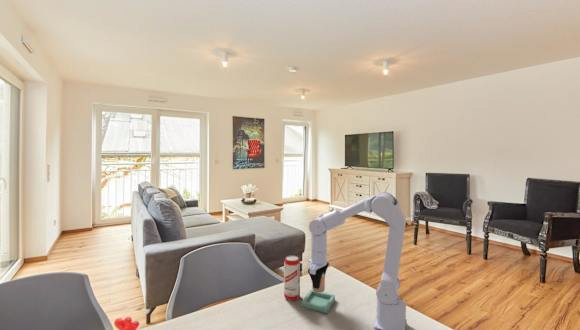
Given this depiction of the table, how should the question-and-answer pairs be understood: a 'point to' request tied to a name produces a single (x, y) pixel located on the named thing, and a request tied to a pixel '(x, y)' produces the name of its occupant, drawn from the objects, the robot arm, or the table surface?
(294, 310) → the table surface
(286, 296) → the beer can
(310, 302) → the tray
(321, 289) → the shaker
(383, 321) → the robot arm
